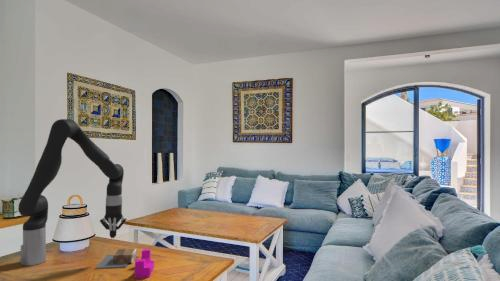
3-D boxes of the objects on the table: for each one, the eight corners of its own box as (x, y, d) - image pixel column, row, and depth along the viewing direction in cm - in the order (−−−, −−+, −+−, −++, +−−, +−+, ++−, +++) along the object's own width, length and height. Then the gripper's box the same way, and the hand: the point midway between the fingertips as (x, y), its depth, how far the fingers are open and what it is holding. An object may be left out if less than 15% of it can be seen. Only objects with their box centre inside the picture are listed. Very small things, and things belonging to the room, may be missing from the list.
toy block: (149, 277, 132) (149, 261, 132) (135, 278, 131) (135, 261, 131) (155, 263, 146) (155, 248, 146) (142, 264, 146) (142, 249, 146)
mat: (95, 269, 140) (95, 267, 140) (107, 256, 156) (107, 254, 156) (125, 267, 142) (125, 266, 142) (134, 254, 158) (134, 253, 158)
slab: (113, 255, 145) (132, 254, 146) (118, 249, 153) (136, 248, 154) (113, 263, 145) (132, 262, 146) (118, 257, 153) (136, 256, 154)
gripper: (97, 205, 145) (96, 240, 145) (125, 205, 146) (124, 239, 146) (102, 201, 152) (101, 235, 152) (129, 201, 154) (128, 234, 154)
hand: (113, 237), depth 149 cm, fingers closed
